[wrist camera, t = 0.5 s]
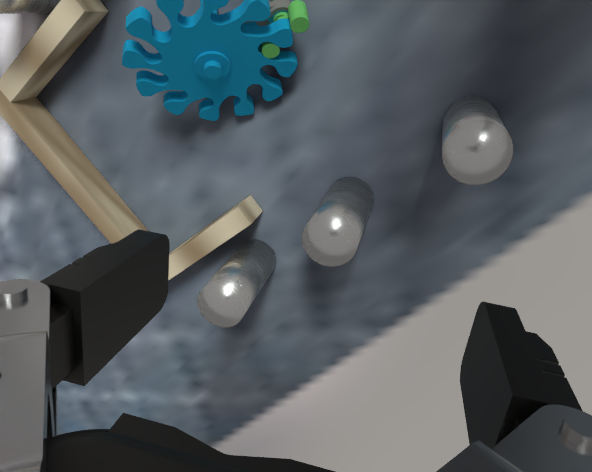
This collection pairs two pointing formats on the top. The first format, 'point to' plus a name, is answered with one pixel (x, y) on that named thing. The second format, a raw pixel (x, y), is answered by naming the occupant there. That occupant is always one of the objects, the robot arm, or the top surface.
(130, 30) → the gear
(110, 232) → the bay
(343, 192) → the spacer field
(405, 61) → the top surface
